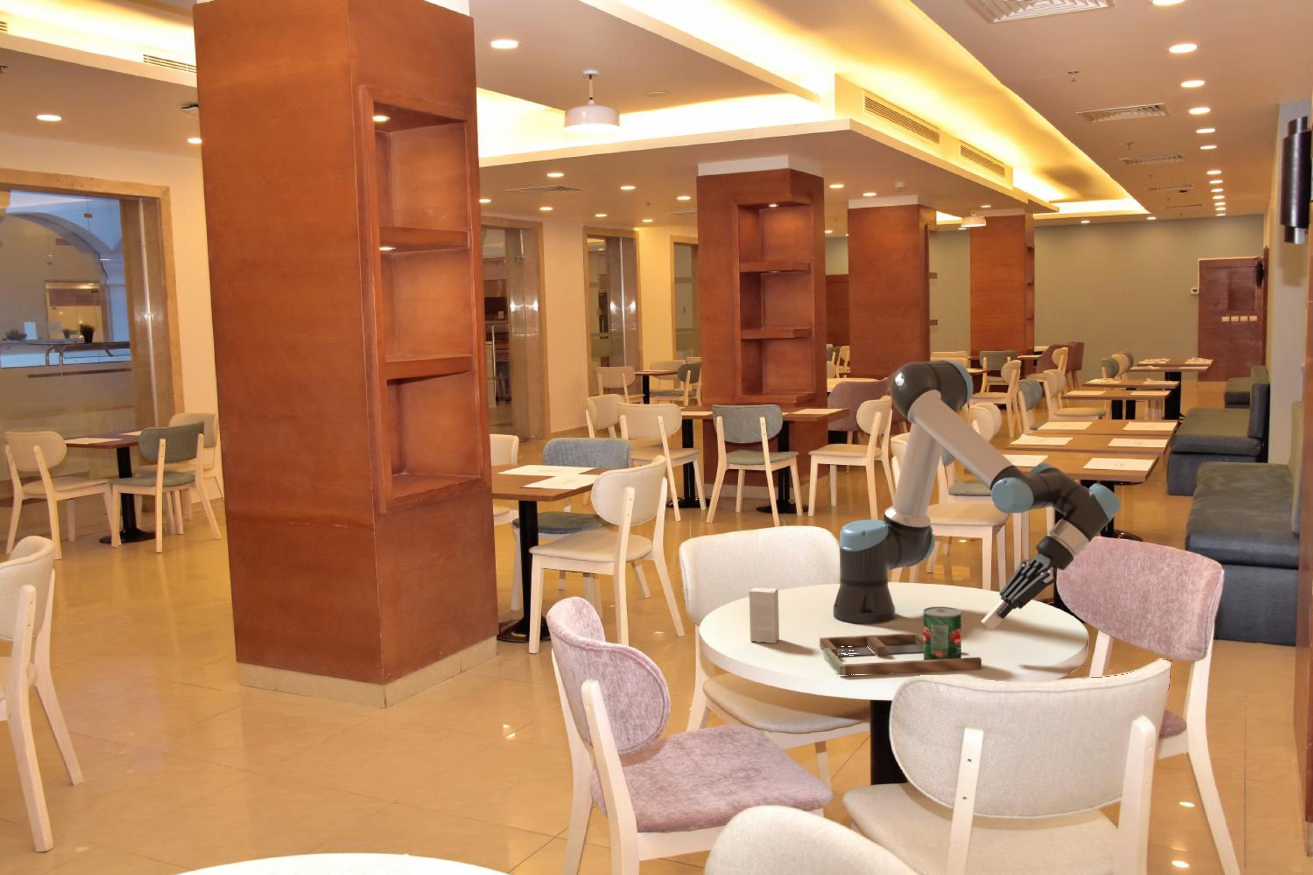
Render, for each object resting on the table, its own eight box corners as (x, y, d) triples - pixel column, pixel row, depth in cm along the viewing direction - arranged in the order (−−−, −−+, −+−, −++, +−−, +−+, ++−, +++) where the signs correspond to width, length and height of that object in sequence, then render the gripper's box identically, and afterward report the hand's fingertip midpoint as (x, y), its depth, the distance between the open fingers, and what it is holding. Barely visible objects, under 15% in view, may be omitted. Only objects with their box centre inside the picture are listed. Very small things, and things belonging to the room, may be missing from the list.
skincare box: (779, 638, 259) (778, 588, 258) (775, 643, 255) (774, 592, 254) (754, 637, 261) (753, 586, 260) (749, 642, 257) (748, 591, 256)
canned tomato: (966, 666, 235) (966, 614, 234) (930, 667, 235) (930, 616, 234) (953, 655, 243) (954, 605, 242) (918, 656, 243) (918, 607, 241)
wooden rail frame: (944, 640, 254) (944, 631, 254) (981, 669, 233) (981, 658, 233) (814, 647, 251) (814, 637, 251) (839, 676, 230) (839, 666, 230)
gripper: (1087, 563, 234) (1011, 645, 233) (1059, 551, 247) (986, 630, 246) (1063, 539, 233) (986, 622, 232) (1036, 529, 246) (963, 607, 245)
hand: (986, 626), depth 239 cm, fingers closed
